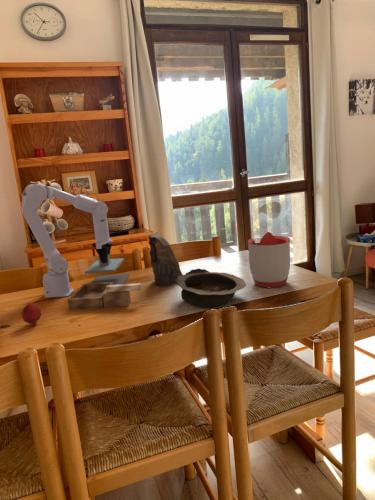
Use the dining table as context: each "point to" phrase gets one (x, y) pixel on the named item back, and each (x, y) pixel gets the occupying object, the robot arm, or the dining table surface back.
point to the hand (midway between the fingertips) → (105, 261)
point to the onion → (31, 313)
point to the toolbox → (97, 297)
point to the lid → (104, 265)
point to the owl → (163, 261)
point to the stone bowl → (208, 287)
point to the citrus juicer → (269, 260)
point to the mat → (111, 279)
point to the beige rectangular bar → (123, 287)
